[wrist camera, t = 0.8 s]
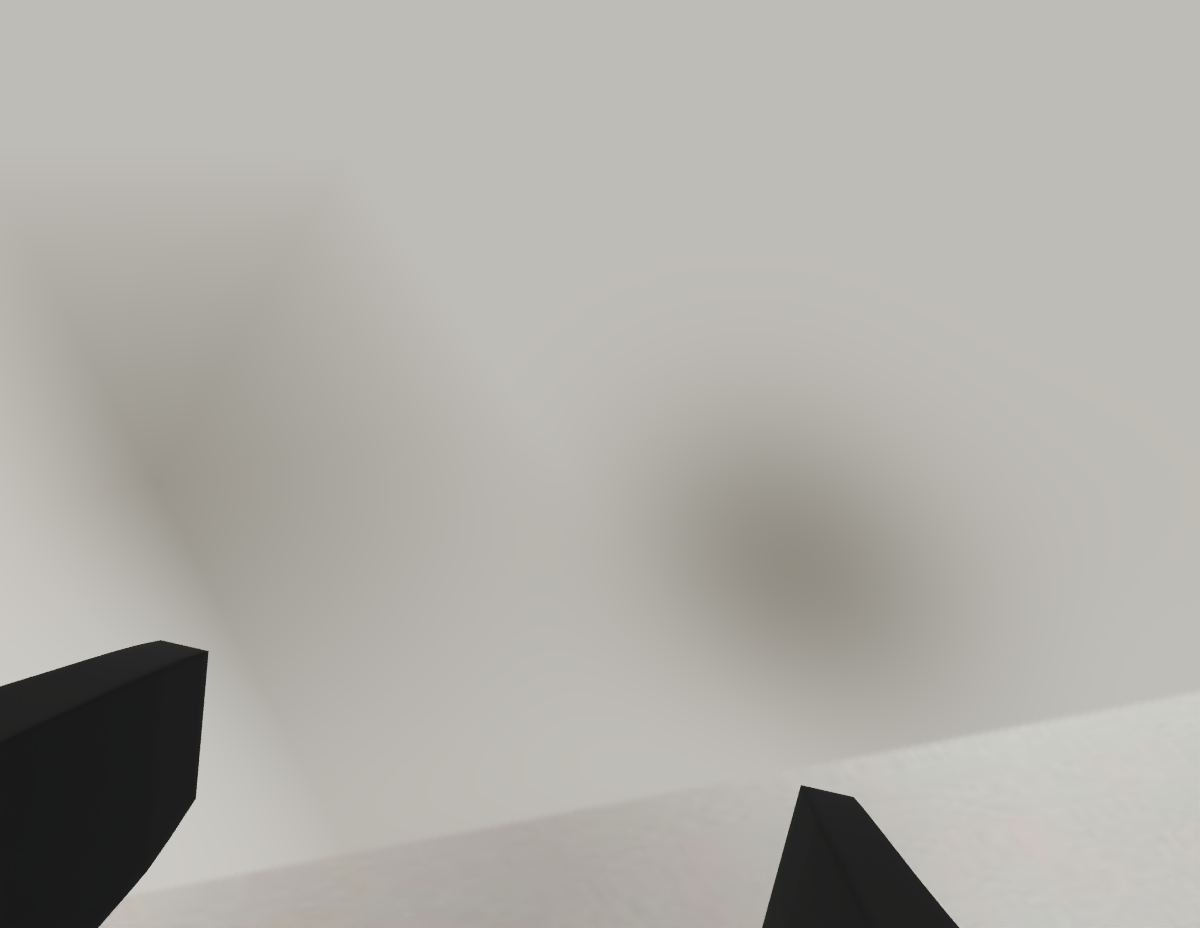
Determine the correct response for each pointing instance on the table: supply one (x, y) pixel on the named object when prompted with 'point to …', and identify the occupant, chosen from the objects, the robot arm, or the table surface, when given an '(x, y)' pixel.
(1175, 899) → the table surface
